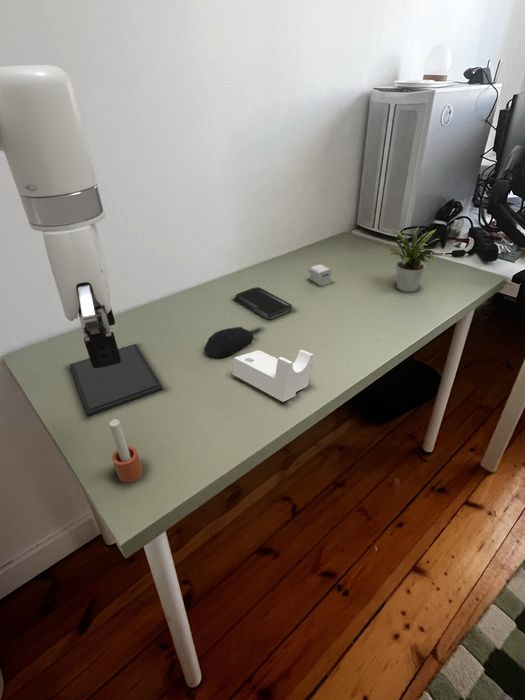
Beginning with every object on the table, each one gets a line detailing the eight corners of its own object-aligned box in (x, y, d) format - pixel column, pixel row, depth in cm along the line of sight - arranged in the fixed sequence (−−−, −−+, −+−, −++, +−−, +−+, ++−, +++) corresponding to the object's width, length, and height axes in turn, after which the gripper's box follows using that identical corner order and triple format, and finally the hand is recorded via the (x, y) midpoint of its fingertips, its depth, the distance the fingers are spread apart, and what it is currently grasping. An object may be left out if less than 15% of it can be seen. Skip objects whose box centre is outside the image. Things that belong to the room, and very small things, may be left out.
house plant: (373, 298, 110) (380, 235, 101) (375, 275, 121) (381, 217, 112) (433, 301, 107) (445, 237, 98) (429, 278, 118) (440, 218, 109)
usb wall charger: (319, 286, 117) (319, 272, 115) (304, 277, 122) (305, 264, 120) (331, 282, 119) (331, 268, 116) (316, 274, 124) (316, 260, 122)
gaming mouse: (268, 334, 98) (268, 319, 95) (217, 362, 89) (215, 346, 87) (249, 325, 101) (248, 310, 99) (199, 351, 93) (197, 335, 91)
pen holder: (122, 486, 64) (115, 468, 62) (115, 470, 67) (109, 452, 64) (145, 476, 65) (140, 458, 63) (138, 460, 68) (133, 442, 66)
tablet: (88, 416, 77) (86, 412, 77) (70, 367, 91) (69, 363, 90) (163, 389, 83) (162, 385, 82) (136, 346, 96) (135, 343, 96)
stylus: (126, 476, 65) (110, 427, 59) (124, 470, 66) (108, 421, 60) (135, 472, 65) (120, 423, 60) (133, 466, 67) (117, 417, 61)
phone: (257, 286, 116) (293, 305, 106) (257, 290, 117) (293, 309, 106) (233, 295, 112) (268, 316, 102) (233, 299, 113) (268, 320, 103)
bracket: (306, 391, 82) (313, 354, 79) (282, 401, 77) (289, 363, 74) (256, 365, 89) (261, 331, 86) (232, 374, 84) (236, 338, 81)
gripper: (32, 193, 51) (74, 319, 61) (16, 237, 37) (73, 391, 47) (98, 185, 53) (129, 308, 62) (106, 224, 39) (143, 374, 49)
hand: (105, 344), depth 55 cm, fingers open, 9 cm apart
